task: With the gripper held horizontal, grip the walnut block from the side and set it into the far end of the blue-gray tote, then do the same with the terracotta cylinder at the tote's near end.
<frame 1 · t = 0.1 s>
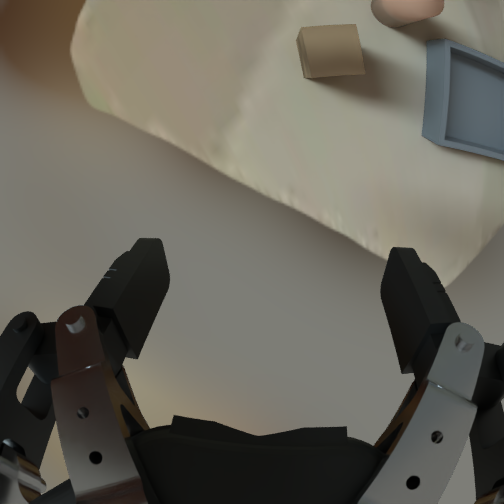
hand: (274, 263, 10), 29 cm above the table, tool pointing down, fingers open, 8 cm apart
walnut block: (320, 56, 29), on the table
terracotta cylinder: (389, 10, 23), on the table
blue-gray tote: (475, 101, 28), on the table
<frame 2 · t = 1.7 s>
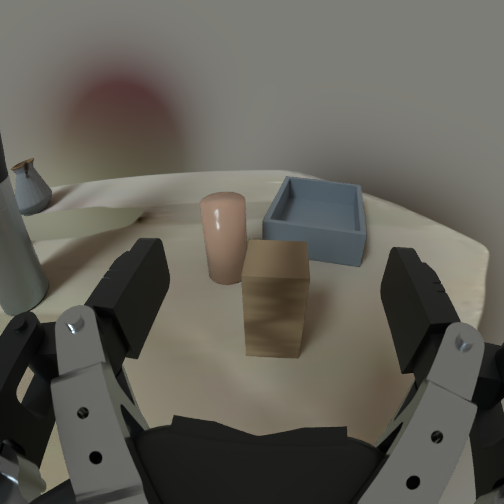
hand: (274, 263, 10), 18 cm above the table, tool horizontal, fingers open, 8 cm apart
walnut block: (273, 337, 29), on the table
terracotta cylinder: (228, 271, 38), on the table
blue-gray tote: (317, 228, 47), on the table
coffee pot: (38, 214, 57), on the table
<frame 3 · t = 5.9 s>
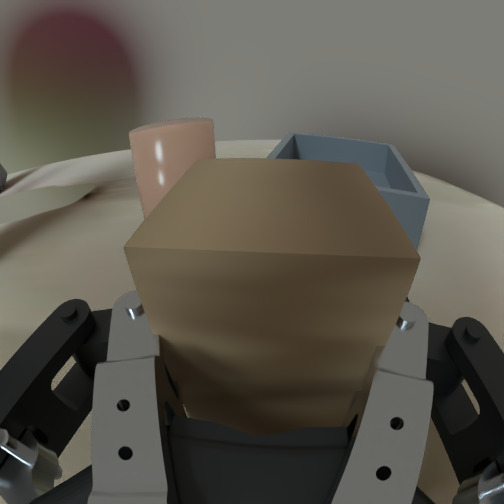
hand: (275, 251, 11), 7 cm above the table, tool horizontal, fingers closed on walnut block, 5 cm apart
walnut block: (268, 402, 12), on the table, touching gripper
terracotta cylinder: (190, 264, 21), on the table
blue-gray tote: (337, 199, 30), on the table
when the fingers open (10 cm above the table, at t = 12.4 s): walnut block drops 2 cm, resting on blue-gray tote.
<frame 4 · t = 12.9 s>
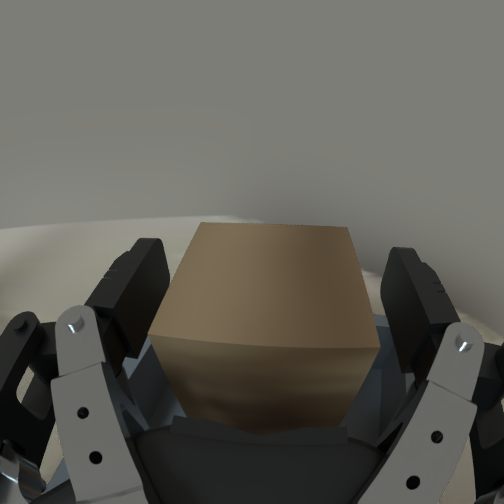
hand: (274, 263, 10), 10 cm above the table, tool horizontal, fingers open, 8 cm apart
walnut block: (265, 421, 13), point 1 cm above the table, touching blue-gray tote
blue-gray tote: (249, 483, 11), on the table
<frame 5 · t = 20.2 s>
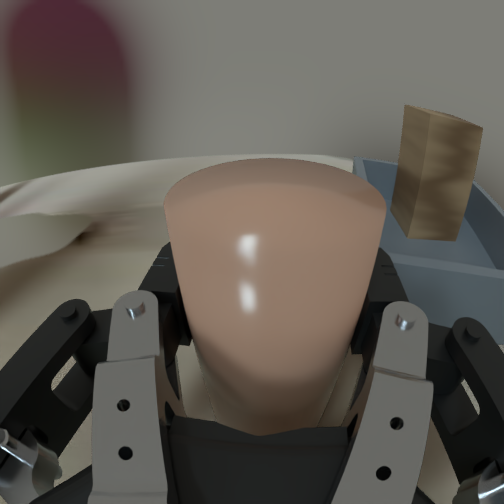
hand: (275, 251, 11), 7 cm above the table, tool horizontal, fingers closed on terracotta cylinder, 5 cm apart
walnut block: (422, 225, 23), point 1 cm above the table, touching blue-gray tote
terracotta cylinder: (268, 402, 12), on the table, touching gripper
blue-gray tote: (427, 258, 21), on the table
when the fingers open (11 cm above the table, at t = 24.8 s): terracotta cylinder stays where it is, resting on blue-gray tote, walnut block.
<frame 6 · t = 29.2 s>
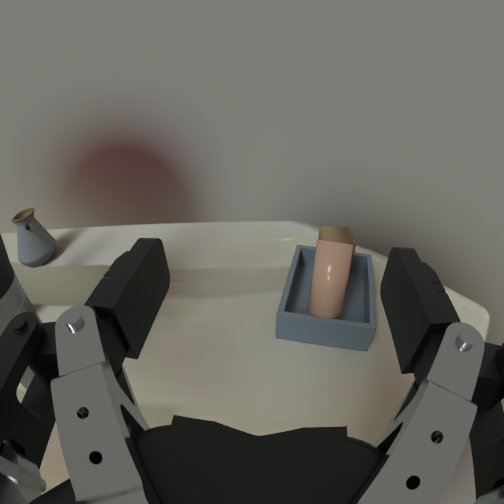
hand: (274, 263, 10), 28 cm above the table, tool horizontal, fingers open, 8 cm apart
walnut block: (329, 285, 49), point 1 cm above the table, touching blue-gray tote, terracotta cylinder
terracotta cylinder: (324, 312, 41), point 4 cm above the table, tilted 28°, touching blue-gray tote, walnut block
blue-gray tote: (327, 304, 47), on the table
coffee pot: (44, 267, 58), on the table
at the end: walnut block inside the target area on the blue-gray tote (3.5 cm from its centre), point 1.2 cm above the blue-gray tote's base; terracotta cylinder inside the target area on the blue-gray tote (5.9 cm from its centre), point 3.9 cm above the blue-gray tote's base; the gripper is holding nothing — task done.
